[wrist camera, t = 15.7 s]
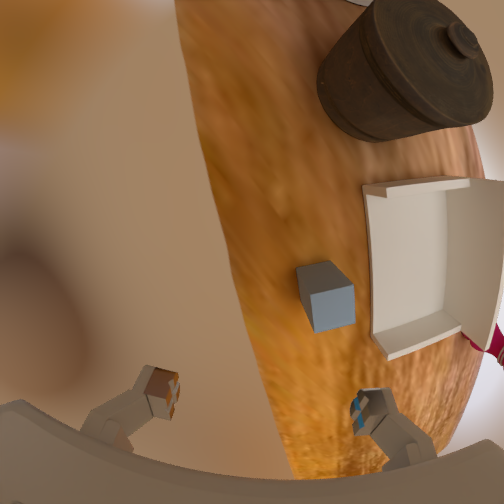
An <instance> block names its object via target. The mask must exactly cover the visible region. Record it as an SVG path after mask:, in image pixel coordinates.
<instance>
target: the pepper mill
mask: <svg viewBox="0 0 504 504" xmlns="http://www.w3.org/2000/svg"><path fill="white" fill-rule="evenodd" d="M462 334H463V336H464V337H465V338H467V339H468V340H470V344H471V346H472V347H473V348H475V349H476V350H478V351H482V352H484V351H483V350H482V349H481V348H480V347H479V346H478V345H476V344H475V343H474V342H473V341H472V340H471V339H470V338H468V337H467V336H466V335H465V334H464V333H463V332H462ZM485 352H487V353H490V354H492V355H494V356H495V357H496V358H497V362H498V363H499V364H500V365H501V366H503V367H504V336H503V334H502V333H501V331H500V329H499V327H498V325H497V323H496V326H495V330H494V333H493V337H492V340H491V344H490V347H489V349H488V350H486V351H485Z"/></svg>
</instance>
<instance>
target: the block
mask: <svg viewBox="0 0 504 504" xmlns="http://www.w3.org/2000/svg"><path fill="white" fill-rule="evenodd" d="M296 272H297V279H298V286H299V293H300V300H301V302H302V305H303V307H304V309H305V312H306V314H307V316H308V319H309V321H310V324H311V326H312V328H313V331H314V333H318V332H322V331H327V330H331V329H335V328H339V327H343V326H346V325H350V324H354V323H355V299H354V284H353V283H352V282H351V281H350V280H349V279H348V278H347V277H346V276H345V275H344V274H343V273H342V272H341V271H340V270H339V269H338V268H337V267H336V266H335V265H334V264H333V263H332V262H331V261H326V262H322V263H317V264H312V265H307V266H302V267H297V268H296Z"/></svg>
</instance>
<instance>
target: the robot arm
mask: <svg viewBox="0 0 504 504" xmlns="http://www.w3.org/2000/svg"><path fill="white" fill-rule="evenodd" d="M347 1H350V2H352V3H355V4H359V5H363V6H369V5H370V3H371V2H372V1H373V0H347ZM178 378H179V376H178V373H177V372H173V371H169V370H165V369H161V368H157V367H153V366H149V365H145V366H144V367H143V369H142V371H141V373H140V375H139V377H138V378H137V381H136V382H135V384H134V386H133V389H132V390H127V391H125V392H124V393H122V394H120V395H118V396H116V397H115V398H113V399H111V400H109V401H107V402H106V403H104V404H102V405H100V406H98V407H97V408H95V409H93V410H91V411H90V413H89V414H88V416H87V418H86V420H85V422H84V424H83V425H82V428H81V429H80V431H78V430H76V429H74V428H72V427H70V426H68V425H66V424H64V423H62V422H60V421H59V420H57V419H55V418H53V417H51V416H50V415H48V414H46V413H45V412H43V411H41V410H40V409H38V408H36V407H35V406H33V405H31V404H30V403H28V402H27V401H25V400H22V399H20V400H15V401H12V402H9V403H6V404H3V405H0V504H504V450H503V449H502V448H500V447H499V446H498V445H497V444H495V443H494V442H492V441H491V440H488V439H485V440H482V441H479V442H478V443H475V444H473V445H470V446H468V447H466V448H463V449H460V450H458V451H456V452H452V453H450V454H447V455H444V456H441V457H437V454H436V451H435V448H434V445H433V442H432V439H431V437H429V436H428V435H427V434H426V433H425V432H423V431H422V430H421V429H420V428H419V427H418V426H416V425H415V424H414V423H413V422H412V421H410V420H409V419H408V418H407V417H406V416H405V415H403V414H402V413H399V411H398V408H397V405H396V402H395V400H394V397H393V394H392V391H391V389H390V388H369V389H360V390H359V391H358V393H357V397H356V398H355V399H353V401H352V403H351V406H350V416H351V418H352V419H353V420H354V423H353V424H352V426H353V432H354V436H360V435H370V436H371V437H372V439H373V440H374V441H375V442H376V443H377V445H378V446H379V447H380V448H381V449H382V450H383V452H384V453H385V454H386V455H387V456H388V458H389V459H390V460H389V461H388V462H387V463H385V464H384V465H383V466H382V471H383V472H378V473H372V474H365V475H358V476H351V477H341V478H330V479H311V480H275V479H258V478H257V479H256V478H246V477H236V476H229V475H221V474H215V473H209V472H203V471H198V470H193V469H188V468H184V467H180V466H175V465H171V464H167V463H164V462H160V461H157V460H153V459H149V458H146V457H143V456H140V455H137V454H134V453H133V450H134V448H133V446H132V444H131V443H130V441H129V439H128V438H127V437H129V436H130V435H131V434H133V433H134V432H135V431H137V430H138V429H139V428H140V427H142V426H143V425H144V424H146V423H147V422H148V421H150V420H151V419H152V418H153V417H157V418H161V419H166V420H170V421H171V419H172V416H173V413H174V410H175V408H174V404H175V403H176V402H177V401H178V398H179V393H180V383H179V382H178Z"/></svg>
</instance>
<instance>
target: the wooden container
mask: <svg viewBox="0 0 504 504" xmlns="http://www.w3.org/2000/svg"><path fill="white" fill-rule="evenodd" d="M317 90H318V95H319V98H320V101H321V103H322V105H323V107H324V109H325V111H326V112H327V114H328V115H329V117H330V118H331V119H332V121H333V122H334V123H335V124H336V125H337V126H338V127H340V128H341V129H342V130H343V131H345V132H346V133H348V134H349V135H351V136H353V137H355V138H357V139H360V140H363V141H367V142H384V141H389V140H394V139H399V138H405V137H409V136H413V135H417V134H421V133H425V132H429V131H434V130H439V129H444V128H453V127H462V126H467V125H472V124H475V123H478V122H480V121H482V120H483V119H484V118H486V116H487V115H488V113H489V111H490V109H491V106H492V102H493V81H492V76H491V73H490V69H489V65H488V62H487V60H486V57H485V55H484V54H483V51H482V49H481V47H480V45H479V44H478V41H477V38H476V36H475V35H474V33H472V32H471V31H470V30H469V29H468V28H467V27H466V25H465V24H464V23H463V22H462V21H461V20H460V19H459V18H458V17H457V16H456V15H455V14H454V13H453V12H452V11H451V10H450V9H448V8H447V7H446V6H445V5H443V4H442V3H440V2H439V1H437V0H373V1H372V2H371V3H370V5H369V6H368V7H367V8H366V10H365V11H364V12H363V13H362V14H361V15H360V16H359V17H358V18H357V20H356V21H355V22H354V23H353V24H352V25H351V27H350V28H349V29H348V30H347V31H346V32H345V33H344V34H343V35H342V37H341V38H340V39H339V41H338V42H337V43H336V44H335V46H334V47H333V48H332V50H331V51H330V53H329V54H328V55H327V57H326V58H325V60H324V61H323V63H322V64H321V66H320V69H319V71H318V75H317Z"/></svg>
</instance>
